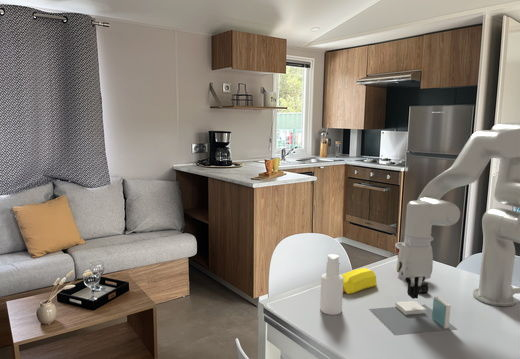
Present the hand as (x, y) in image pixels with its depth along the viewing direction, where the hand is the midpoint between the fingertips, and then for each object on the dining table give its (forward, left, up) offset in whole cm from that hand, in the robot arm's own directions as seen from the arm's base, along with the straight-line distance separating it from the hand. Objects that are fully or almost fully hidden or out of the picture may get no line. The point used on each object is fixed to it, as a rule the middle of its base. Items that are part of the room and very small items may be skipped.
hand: (412, 296), depth 128 cm
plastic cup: (-16, -28, -5) cm, 33 cm away
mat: (+3, +5, -5) cm, 8 cm away
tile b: (-4, +9, -5) cm, 11 cm away
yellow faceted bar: (+9, -20, -6) cm, 23 cm away
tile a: (-3, 0, -4) cm, 5 cm away
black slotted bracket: (-11, -13, -6) cm, 18 cm away
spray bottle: (+25, -5, -5) cm, 26 cm away
